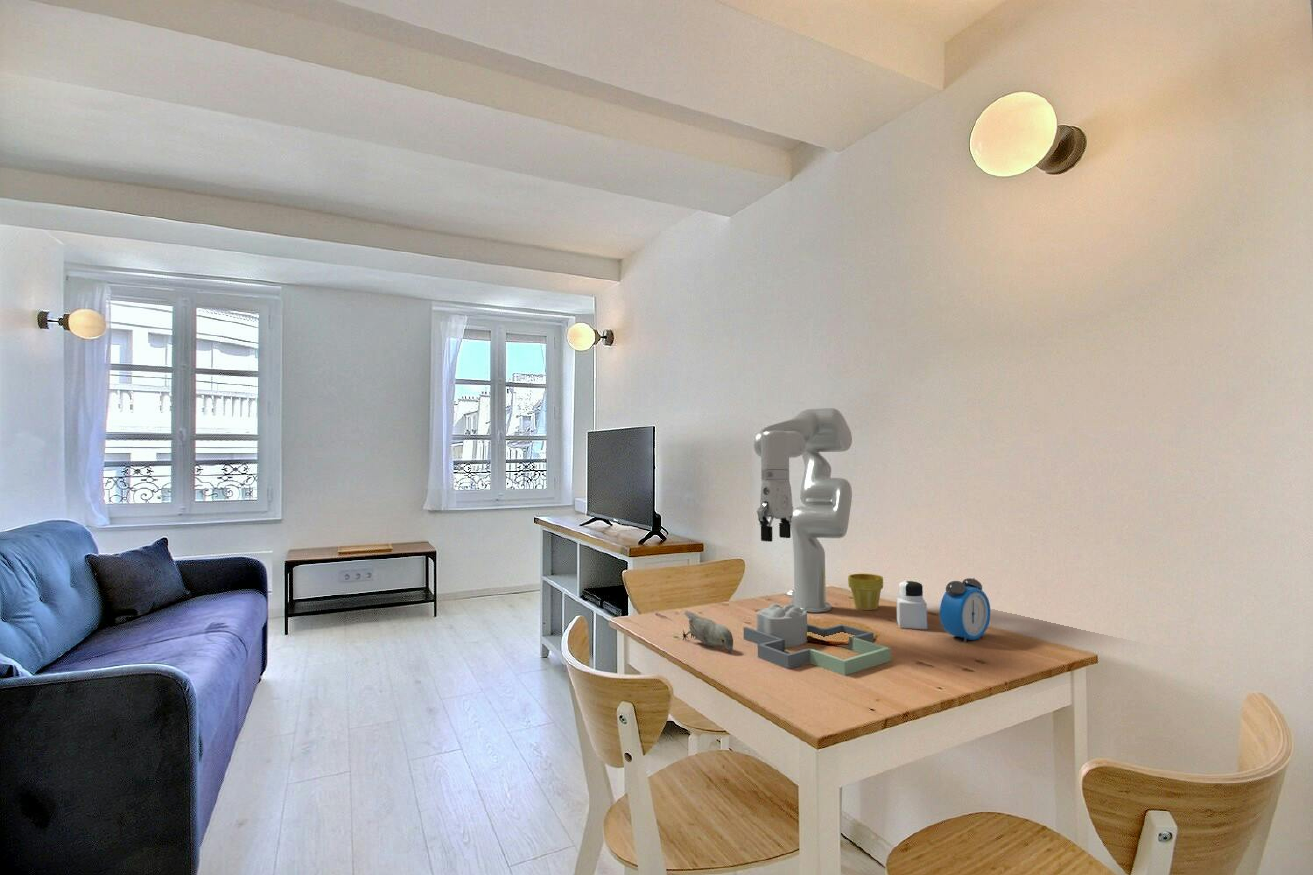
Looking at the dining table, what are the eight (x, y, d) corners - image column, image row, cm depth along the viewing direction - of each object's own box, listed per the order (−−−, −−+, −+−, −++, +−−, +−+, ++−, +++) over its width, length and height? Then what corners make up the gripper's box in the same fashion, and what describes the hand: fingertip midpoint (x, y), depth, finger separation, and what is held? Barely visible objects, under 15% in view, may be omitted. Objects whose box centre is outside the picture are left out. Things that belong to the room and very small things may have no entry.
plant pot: (842, 608, 194) (841, 576, 194) (858, 602, 201) (857, 571, 201) (874, 613, 186) (873, 581, 187) (889, 607, 194) (888, 575, 194)
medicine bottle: (923, 622, 176) (922, 580, 176) (927, 629, 169) (926, 585, 170) (896, 621, 178) (895, 579, 178) (899, 628, 171) (898, 584, 172)
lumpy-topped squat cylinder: (752, 638, 164) (751, 605, 164) (792, 631, 170) (791, 599, 170) (775, 649, 155) (775, 614, 155) (817, 642, 160) (816, 608, 160)
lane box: (723, 643, 160) (722, 631, 160) (805, 624, 176) (805, 613, 176) (822, 682, 132) (822, 668, 132) (909, 655, 149) (908, 642, 149)
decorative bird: (723, 655, 151) (723, 624, 151) (679, 641, 163) (678, 612, 163) (739, 651, 154) (738, 620, 154) (694, 637, 166) (693, 609, 167)
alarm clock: (960, 644, 156) (959, 584, 156) (938, 638, 161) (937, 580, 162) (992, 636, 162) (990, 578, 163) (969, 630, 168) (968, 574, 168)
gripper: (771, 476, 160) (771, 543, 160) (802, 475, 174) (803, 537, 173) (746, 476, 165) (746, 541, 165) (779, 475, 178) (779, 535, 178)
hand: (776, 539), depth 169 cm, fingers open, 9 cm apart
